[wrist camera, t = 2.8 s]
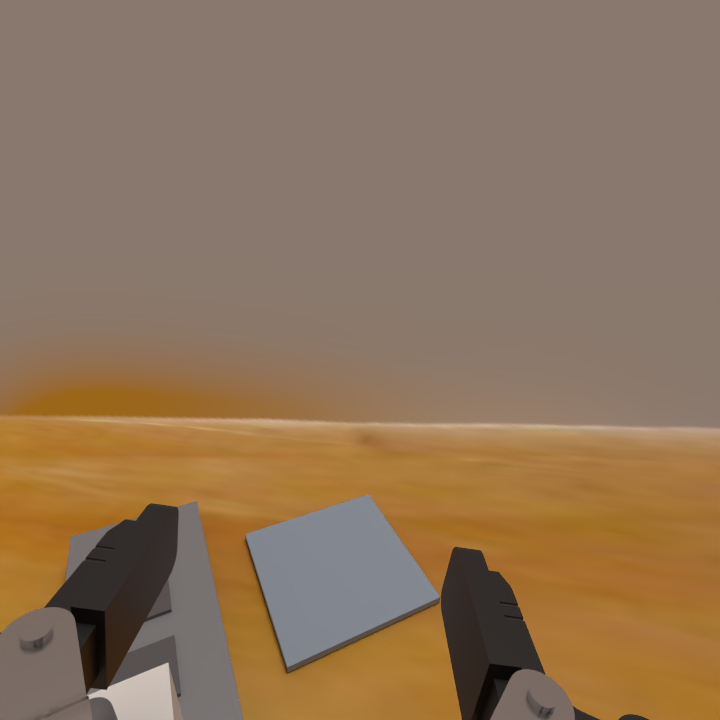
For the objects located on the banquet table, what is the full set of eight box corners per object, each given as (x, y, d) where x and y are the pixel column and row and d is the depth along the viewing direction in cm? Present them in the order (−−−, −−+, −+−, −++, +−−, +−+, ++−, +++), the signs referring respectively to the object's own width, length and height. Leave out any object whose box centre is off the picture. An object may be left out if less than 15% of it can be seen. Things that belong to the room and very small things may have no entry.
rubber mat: (439, 602, 34) (440, 597, 34) (287, 672, 29) (287, 667, 29) (368, 499, 44) (368, 494, 43) (245, 539, 39) (245, 534, 39)
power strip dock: (291, 958, 19) (288, 926, 17) (26, 1153, 15) (-13, 1137, 13) (201, 526, 40) (195, 492, 38) (80, 563, 36) (67, 527, 34)
